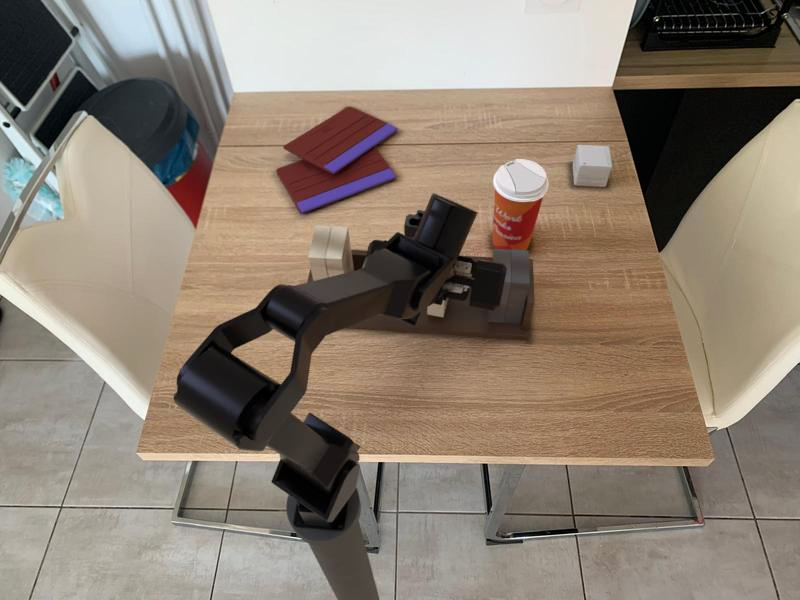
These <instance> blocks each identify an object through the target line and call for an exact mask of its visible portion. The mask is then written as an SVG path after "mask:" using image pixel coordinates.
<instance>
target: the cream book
mask: <svg viewBox="0 0 800 600" xmlns="http://www.w3.org/2000/svg"><path fill="white" fill-rule="evenodd" d="M448 299H449V298H447V300H446V301H444V300H443V302H442V305H438V304H432V305H430V306H428V308H427V314H428V315H433V316H438V317H444V313H445V310H446V306H447V302H448Z"/></svg>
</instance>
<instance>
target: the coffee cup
mask: <svg viewBox="0 0 800 600" xmlns="http://www.w3.org/2000/svg"><path fill="white" fill-rule="evenodd" d="M549 182H550V181H549V179H548V175H547V173H546V170H545V169H544V168H543V167H542V166H541V165H540V164H539V163H537V162H535V161H533V160H529V159H525V158H517V159H514V160H510V161H508V162H506V163H505V164H502V165H501V166H500V167H499V168H498V170H497V171H496V172H495V173H494V176H493V179H492V184H493V187H494V203H493V219H492V221H493V222H492V223H493V224H492V243H493V247H494V249H507V250H527V251H528V248H529V245H530V243H531V240H532V236H533V234H534V230H535V227H536V223H537V221H538V220H537V219H538V216H539V213H540V210H541V206H542V202H543V199H544V197H545V195H546V193H547V191H548V190H549V184H550V183H549Z"/></svg>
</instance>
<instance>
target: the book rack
mask: <svg viewBox="0 0 800 600" xmlns="http://www.w3.org/2000/svg"><path fill="white" fill-rule="evenodd" d="M351 245H352V244H351V239H350V231H349V227H348V226H341V225H339V226H337V225H319V224H316V225H314V230H313V234H312V239H311V243H310V247H309V252H308V256H307V260H308V263H309V267H310V268H309V272H308V276H307V282H306V283H308V282H312V281H316V280H320V279H324V278H328V277H332V276H336V275H340V274H344V273H348V272H352V271H356V270H359V269H361V268H362V267H363V264H364V261H365V258H366V256H367V250H368V249H367V250H364V249H352V246H351ZM463 256H464V257H469V258H472V259H473V260H474V267H473V272H472V278H474V275H475V270H476V266H477V262H478V260H479V259H480V260H487V261H492V262H498V263H503V264H505V266H506V267H507V273H506V278H505V283H504V288H503V292H502V297H501V302H500V306H499V308H497V309H496V310H495V311H492V310H488V309H483V308H478V307H473V306H469V302H470V296H471V291H472V287H470V288H469V293H468V297H467V299H466V300H465V301H460V300H455V299H450V298H449V299H448V302H447V306H446V310H445V313H444V317H438V316H433V315H428V314H427V308H428V307H427V308H426V309H425V310H424V311H423V312H422V314H421V316H420V318H419V321H418V323H417V325H416V326H413V325H411V324H408V323H406V322H404V321H402V320H400V319H396V318H392V317H388V316H384V315H378V316H375V317H372V318H370V319H367V320H364V321H362V322H359V323H357V324H354V325H352V326H349V327H347V328H346V329H359V330H373V331H374V330H377V331H392V332H405V333H406V332H407V333H420V334H421V333H422V334H435V335H437V334H438V335H451V336H452V335H454V336H466V337H467V336H468V337H483V338H496V339H497V338H499V339H512V340H513V339H515V340H528V337H529V327H530V324H531V319H532V315H533V311H534V307H535V304H536V303H535V278H534V277H535V276H534V272H535V271H534V259H533V258H530V251H529V250H528V249H527V250H507V249H496V248H493V250H492V256H491V257H490V256H477V255H475V256H473V255H463ZM464 289H465V288H464Z"/></svg>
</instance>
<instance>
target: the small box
mask: <svg viewBox="0 0 800 600" xmlns="http://www.w3.org/2000/svg"><path fill="white" fill-rule="evenodd" d="M572 162H573V163H572V175H573V184H574V186H578V187H596V188H606V187H607V185H608V181H609V179H610V175H611V171H612V169H613V162H612V156H611V148H610V146H609V145H593V144H591V145H590V144H578V145H576V150H575V154H574V158H573V161H572Z"/></svg>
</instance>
